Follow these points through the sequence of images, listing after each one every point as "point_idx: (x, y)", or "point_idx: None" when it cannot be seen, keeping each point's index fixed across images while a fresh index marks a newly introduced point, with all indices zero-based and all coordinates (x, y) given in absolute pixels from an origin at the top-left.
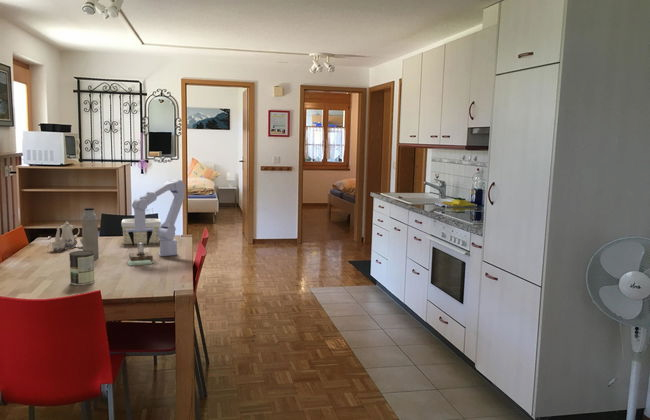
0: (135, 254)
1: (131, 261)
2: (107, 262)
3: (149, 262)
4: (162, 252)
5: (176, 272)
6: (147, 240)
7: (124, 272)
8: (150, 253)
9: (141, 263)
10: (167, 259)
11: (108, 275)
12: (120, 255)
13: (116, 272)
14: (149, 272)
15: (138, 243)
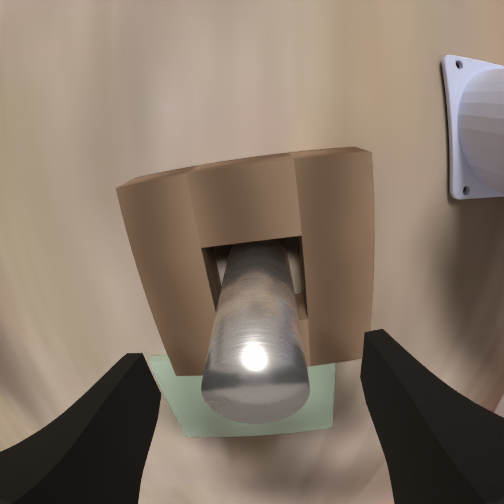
0: (195, 269)
1: (185, 376)
2: (30, 315)
3: (316, 418)
4: (485, 177)
5: (380, 495)
6: (382, 433)
7: (192, 489)
8: (370, 251)
9: (262, 429)
10: (457, 319)
11: (145, 492)
12: (54, 57)
13: (160, 481)
14: (291, 499)
15: (220, 409)
